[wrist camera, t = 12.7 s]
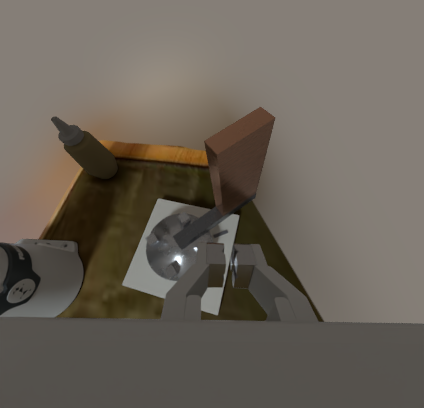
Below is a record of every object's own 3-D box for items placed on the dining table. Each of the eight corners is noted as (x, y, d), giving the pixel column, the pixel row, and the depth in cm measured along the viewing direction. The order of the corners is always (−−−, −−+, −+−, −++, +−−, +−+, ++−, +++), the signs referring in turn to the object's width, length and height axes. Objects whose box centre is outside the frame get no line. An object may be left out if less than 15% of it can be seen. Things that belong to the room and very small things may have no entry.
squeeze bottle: (89, 180, 52) (25, 131, 36) (102, 157, 55) (49, 103, 39) (114, 185, 51) (59, 136, 35) (126, 161, 54) (81, 106, 38)
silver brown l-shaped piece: (172, 295, 36) (85, 306, 14) (143, 241, 41) (46, 190, 19) (269, 222, 40) (312, 146, 19) (231, 182, 45) (232, 85, 24)
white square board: (127, 285, 40) (121, 284, 37) (161, 202, 47) (157, 198, 45) (218, 313, 36) (217, 315, 34) (238, 218, 43) (239, 214, 41)
